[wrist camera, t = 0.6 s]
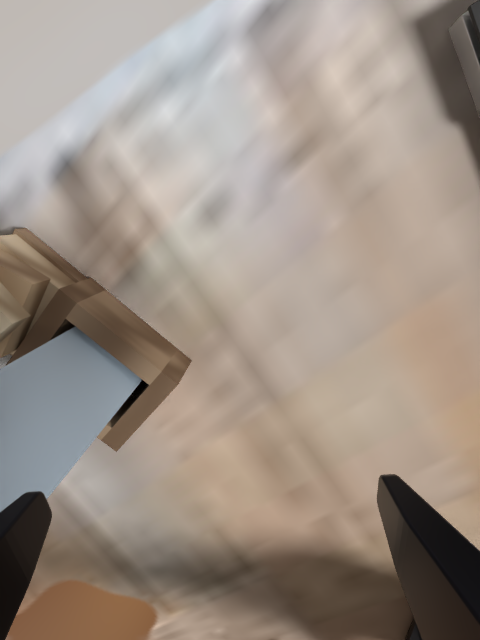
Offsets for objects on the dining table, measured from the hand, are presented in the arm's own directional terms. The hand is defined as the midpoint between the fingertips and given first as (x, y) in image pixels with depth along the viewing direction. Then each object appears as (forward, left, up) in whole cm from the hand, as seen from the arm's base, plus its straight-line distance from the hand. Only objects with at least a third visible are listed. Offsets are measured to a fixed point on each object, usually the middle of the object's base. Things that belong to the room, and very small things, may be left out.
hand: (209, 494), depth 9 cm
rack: (-2, +11, -14) cm, 18 cm away
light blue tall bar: (-3, +9, -14) cm, 17 cm away
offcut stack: (+1, +14, -13) cm, 19 cm away
